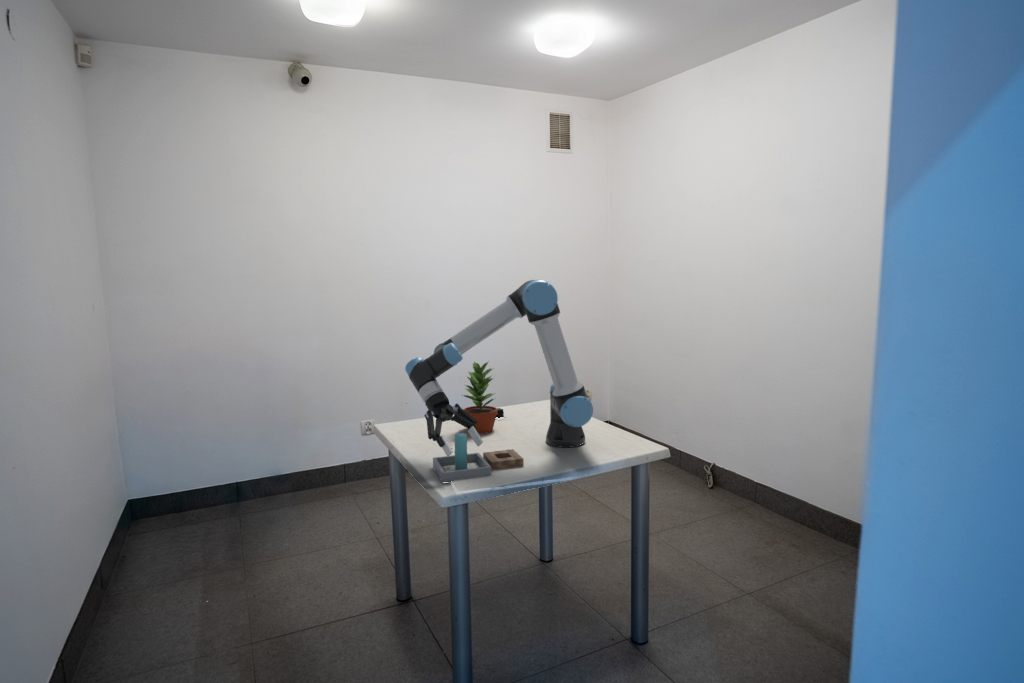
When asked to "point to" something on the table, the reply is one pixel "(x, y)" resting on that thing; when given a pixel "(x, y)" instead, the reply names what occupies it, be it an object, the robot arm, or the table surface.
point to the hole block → (503, 459)
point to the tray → (460, 474)
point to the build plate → (500, 413)
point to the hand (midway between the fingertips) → (465, 449)
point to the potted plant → (480, 399)
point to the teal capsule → (460, 451)
